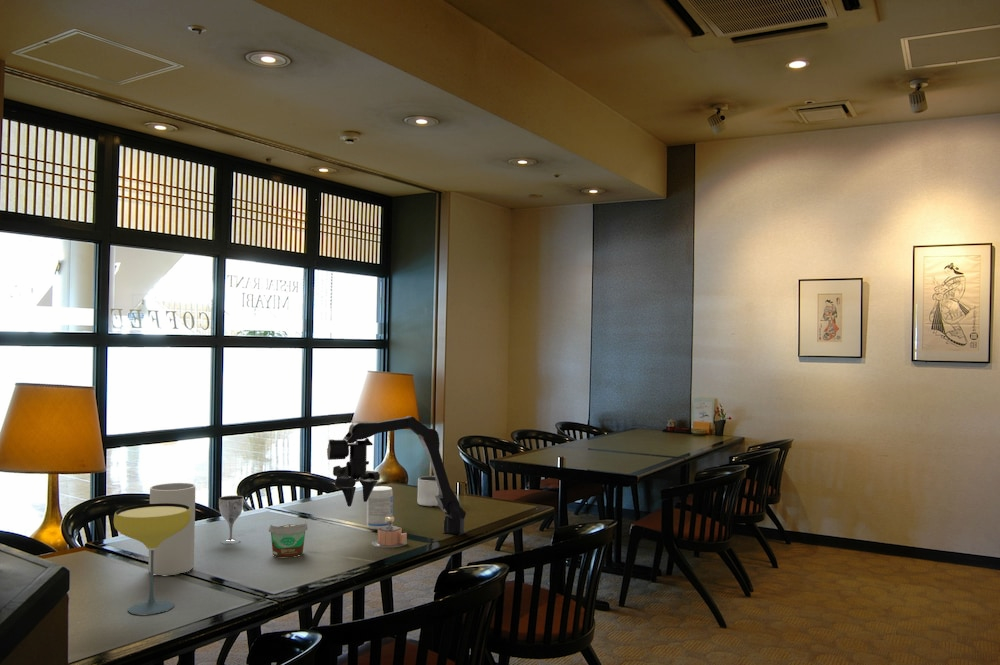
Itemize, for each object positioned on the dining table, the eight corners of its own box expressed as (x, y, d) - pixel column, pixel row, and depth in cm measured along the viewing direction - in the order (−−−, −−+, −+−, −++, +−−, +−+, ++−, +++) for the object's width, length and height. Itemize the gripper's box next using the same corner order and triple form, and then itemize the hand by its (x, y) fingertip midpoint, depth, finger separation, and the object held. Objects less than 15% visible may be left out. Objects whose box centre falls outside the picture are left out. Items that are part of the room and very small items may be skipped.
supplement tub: (396, 529, 289) (397, 489, 290) (373, 532, 284) (373, 491, 284) (385, 523, 297) (386, 485, 298) (362, 526, 292) (362, 487, 292)
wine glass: (247, 540, 270) (248, 496, 270) (231, 545, 263) (231, 500, 263) (230, 537, 273) (231, 494, 273) (213, 542, 266) (213, 498, 266)
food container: (272, 560, 245) (272, 528, 245) (268, 556, 250) (268, 524, 251) (311, 556, 251) (311, 525, 251) (306, 551, 256) (307, 521, 256)
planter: (445, 507, 329) (445, 480, 329) (415, 507, 329) (416, 480, 329) (447, 501, 341) (448, 475, 342) (419, 501, 342) (419, 475, 342)
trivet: (413, 542, 269) (413, 541, 269) (394, 551, 258) (394, 549, 258) (384, 538, 274) (384, 537, 274) (364, 546, 263) (364, 544, 263)
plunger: (400, 539, 267) (400, 516, 268) (391, 543, 263) (392, 519, 263) (387, 537, 270) (387, 515, 270) (378, 541, 265) (379, 518, 265)
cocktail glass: (119, 625, 187) (121, 520, 188) (105, 605, 202) (107, 507, 202) (197, 611, 198) (199, 512, 198) (179, 592, 213) (181, 500, 213)
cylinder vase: (165, 579, 224) (167, 492, 225) (139, 572, 231) (141, 487, 231) (202, 569, 235) (204, 485, 235) (176, 562, 242) (178, 481, 242)
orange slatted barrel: (410, 542, 267) (411, 527, 267) (397, 547, 260) (398, 532, 260) (386, 539, 272) (386, 524, 272) (372, 544, 264) (373, 529, 264)
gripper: (355, 453, 282) (354, 497, 282) (322, 460, 265) (321, 506, 265) (380, 456, 277) (380, 500, 277) (349, 462, 260) (348, 509, 260)
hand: (357, 504), depth 270 cm, fingers open, 9 cm apart
